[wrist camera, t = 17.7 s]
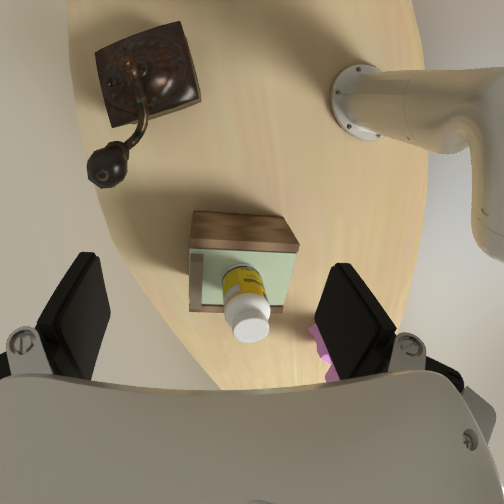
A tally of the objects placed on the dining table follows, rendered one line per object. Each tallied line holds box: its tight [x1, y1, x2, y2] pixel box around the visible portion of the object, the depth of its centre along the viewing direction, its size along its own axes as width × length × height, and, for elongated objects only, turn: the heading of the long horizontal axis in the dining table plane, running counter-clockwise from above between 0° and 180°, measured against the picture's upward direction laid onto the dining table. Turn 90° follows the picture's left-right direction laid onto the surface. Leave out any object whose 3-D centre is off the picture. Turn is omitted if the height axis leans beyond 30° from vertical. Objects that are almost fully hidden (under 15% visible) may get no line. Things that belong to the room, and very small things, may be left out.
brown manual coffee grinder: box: [87, 21, 201, 189], centre depth 23 cm, size 16×11×18 cm
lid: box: [189, 247, 297, 310], centre depth 36 cm, size 14×9×3 cm, turn 82°
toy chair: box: [307, 323, 340, 382], centre depth 52 cm, size 8×9×15 cm
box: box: [189, 211, 300, 313], centre depth 41 cm, size 14×12×9 cm
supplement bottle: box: [222, 264, 270, 343], centre depth 33 cm, size 5×5×10 cm
